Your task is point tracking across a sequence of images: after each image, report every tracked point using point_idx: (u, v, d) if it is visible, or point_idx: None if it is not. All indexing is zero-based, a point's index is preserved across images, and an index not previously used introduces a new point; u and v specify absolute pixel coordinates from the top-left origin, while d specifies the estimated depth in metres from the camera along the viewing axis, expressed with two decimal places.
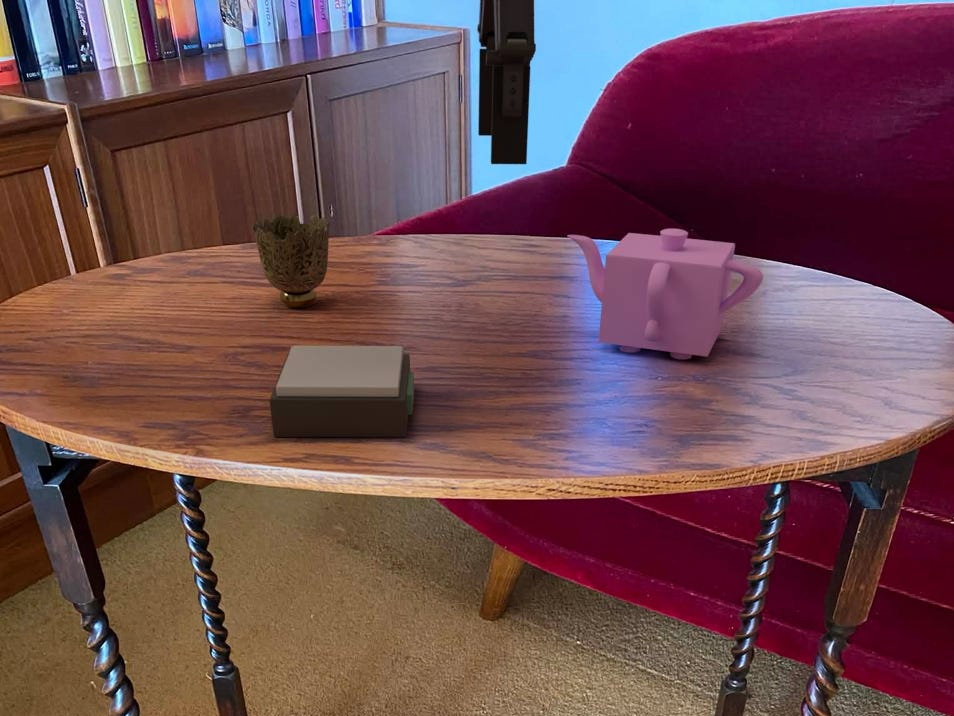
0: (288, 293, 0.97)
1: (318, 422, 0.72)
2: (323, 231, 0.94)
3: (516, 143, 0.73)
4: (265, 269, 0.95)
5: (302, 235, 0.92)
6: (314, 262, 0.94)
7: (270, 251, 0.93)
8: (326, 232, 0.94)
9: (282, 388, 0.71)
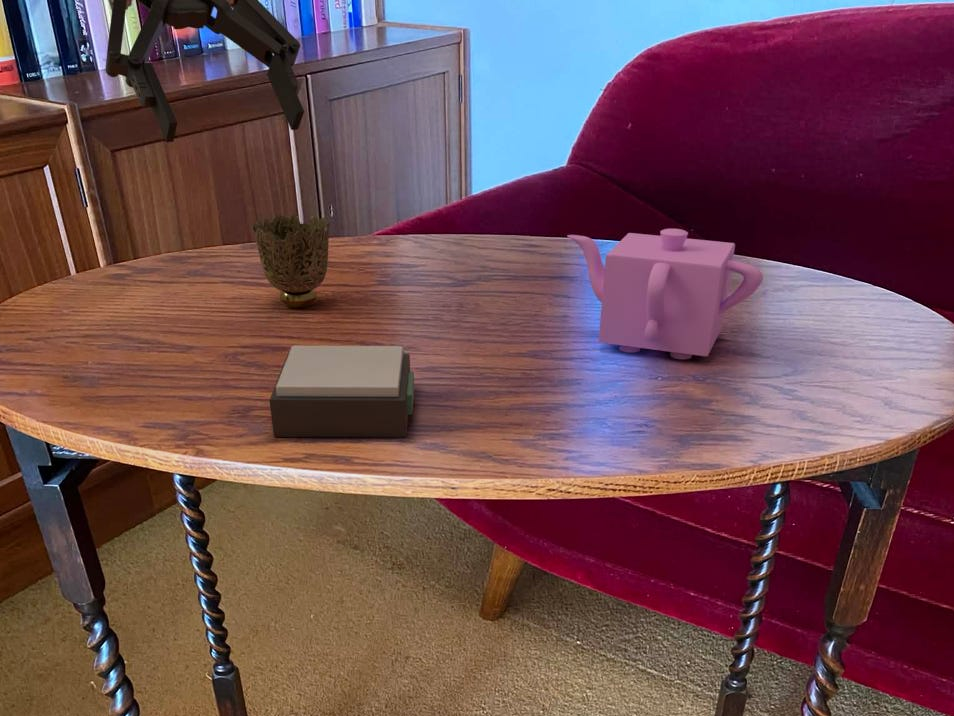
0: (288, 293, 0.97)
1: (318, 422, 0.72)
2: (323, 231, 0.94)
3: None
4: (265, 269, 0.95)
5: (302, 235, 0.92)
6: (314, 262, 0.94)
7: (270, 251, 0.93)
8: (326, 232, 0.94)
9: (282, 388, 0.71)
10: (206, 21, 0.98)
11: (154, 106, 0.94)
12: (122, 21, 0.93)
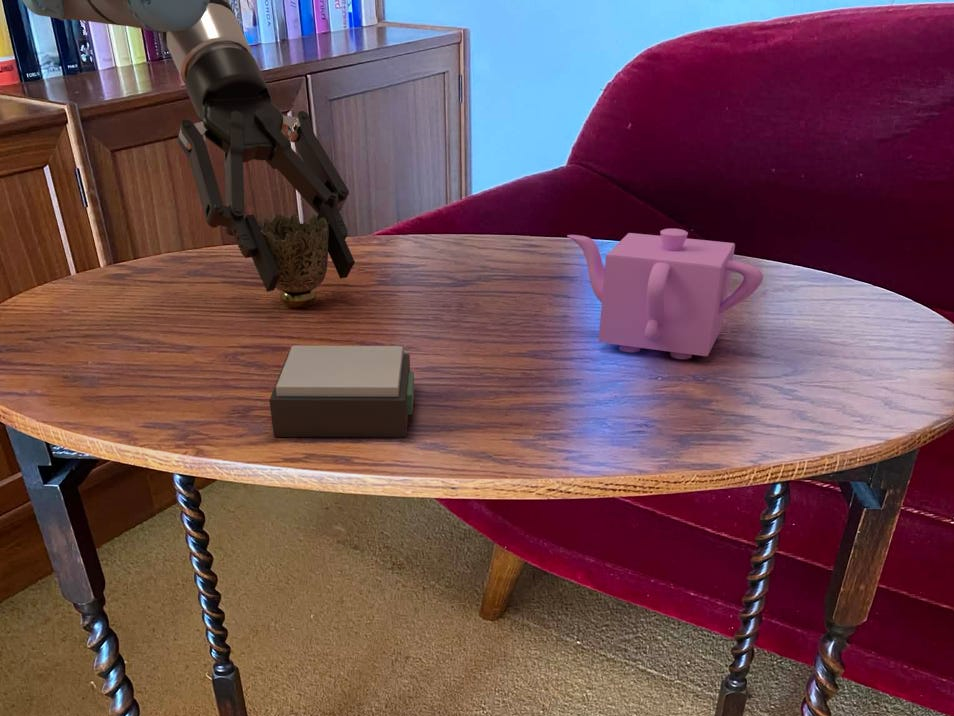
0: (288, 293, 0.97)
1: (318, 422, 0.72)
2: (323, 231, 0.94)
3: None
4: None
5: (302, 235, 0.92)
6: (314, 262, 0.94)
7: (270, 251, 0.93)
8: (326, 232, 0.94)
9: (282, 388, 0.71)
10: (271, 153, 0.96)
11: (256, 256, 0.93)
12: (211, 169, 0.91)
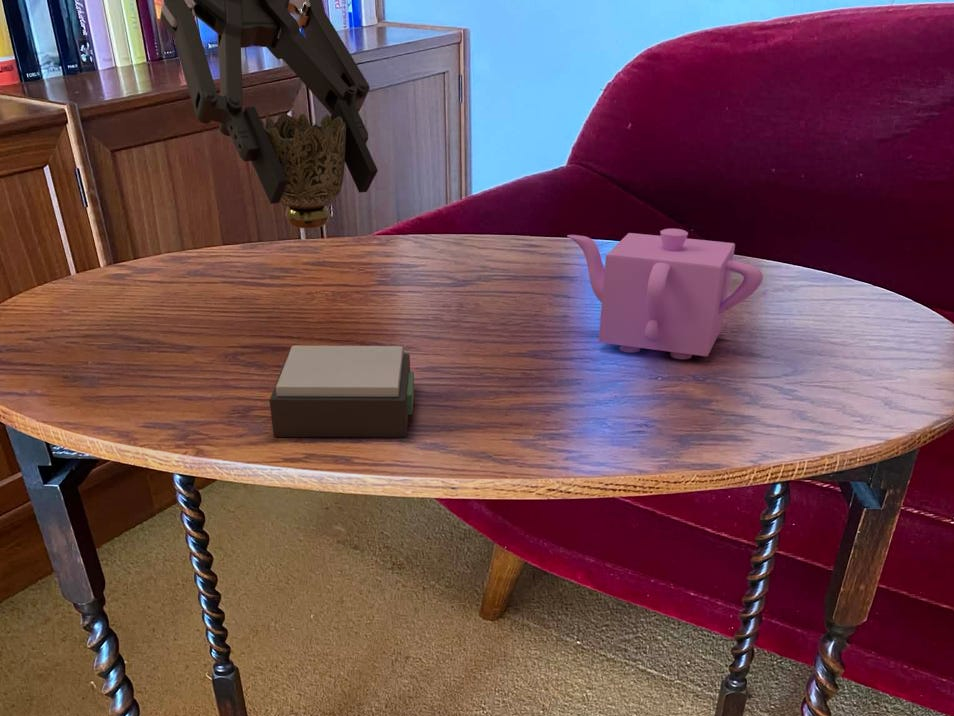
0: (296, 209, 0.80)
1: (318, 422, 0.72)
2: (339, 129, 0.76)
3: None
4: None
5: (314, 132, 0.75)
6: (328, 169, 0.77)
7: None
8: (343, 132, 0.77)
9: (282, 388, 0.71)
10: (275, 38, 0.79)
11: (257, 160, 0.76)
12: (202, 50, 0.74)
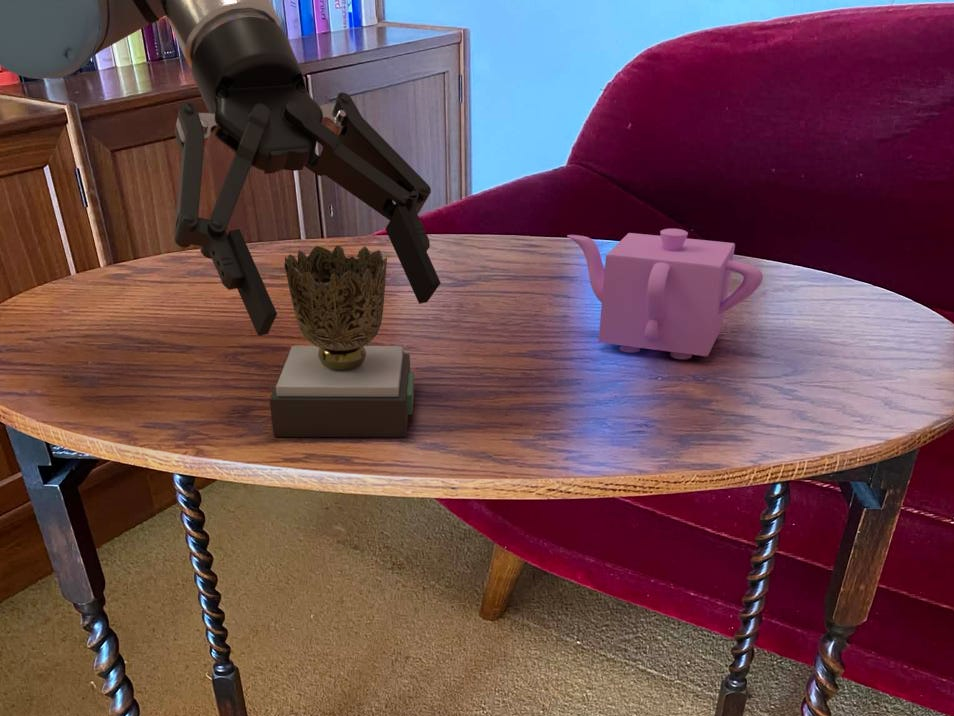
0: (330, 351, 0.72)
1: (318, 422, 0.72)
2: (380, 270, 0.69)
3: None
4: (300, 321, 0.71)
5: (352, 277, 0.67)
6: (367, 312, 0.70)
7: (308, 298, 0.68)
8: (383, 271, 0.70)
9: (282, 388, 0.71)
10: (307, 161, 0.72)
11: (243, 287, 0.67)
12: (199, 171, 0.66)
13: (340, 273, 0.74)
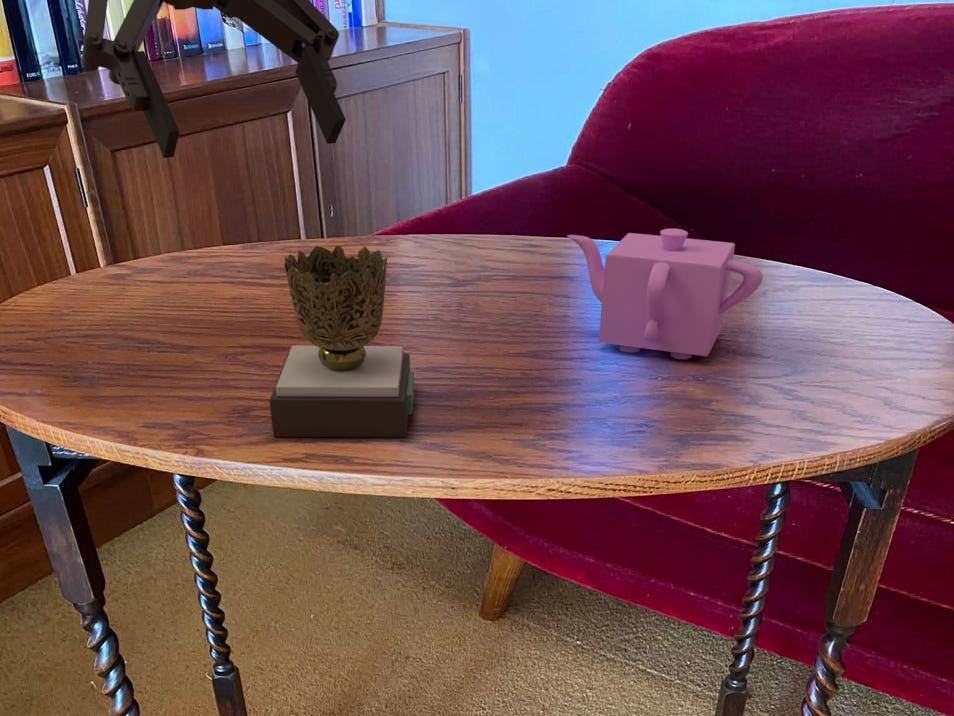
0: (330, 351, 0.72)
1: (318, 422, 0.72)
2: (380, 270, 0.69)
3: None
4: (300, 321, 0.71)
5: (352, 277, 0.67)
6: (367, 312, 0.70)
7: (308, 298, 0.68)
8: (383, 271, 0.70)
9: (282, 388, 0.71)
10: (217, 0, 0.74)
11: (148, 110, 0.70)
12: None
13: (340, 273, 0.74)
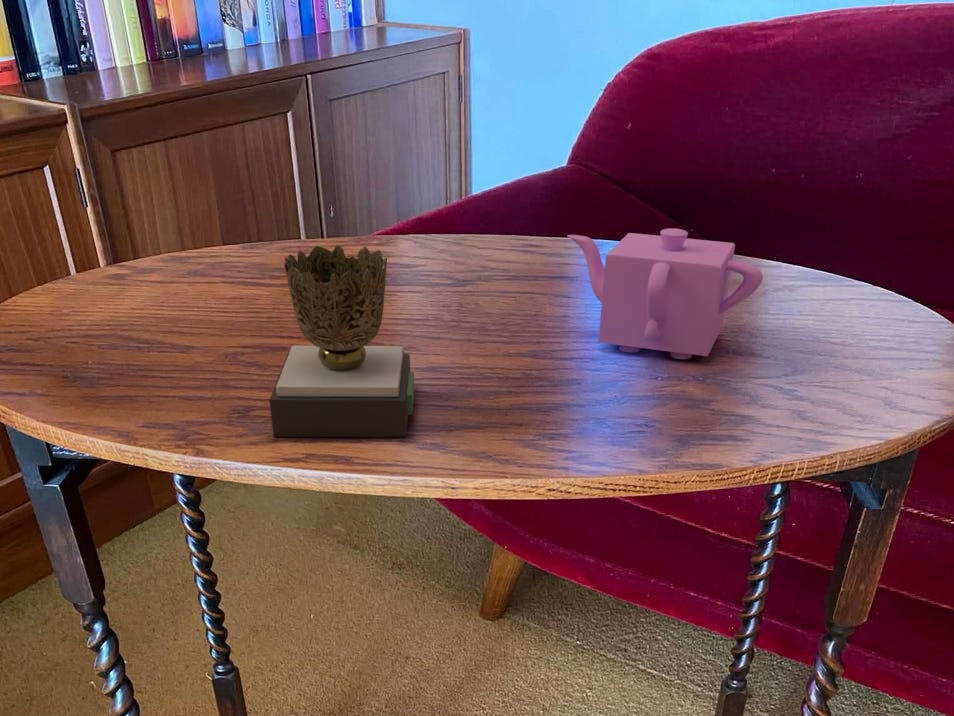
0: (330, 351, 0.72)
1: (318, 422, 0.72)
2: (380, 270, 0.69)
3: None
4: (300, 321, 0.71)
5: (352, 277, 0.67)
6: (367, 312, 0.70)
7: (308, 298, 0.68)
8: (383, 271, 0.70)
9: (282, 388, 0.71)
10: None
11: None
12: None
13: (340, 273, 0.74)
